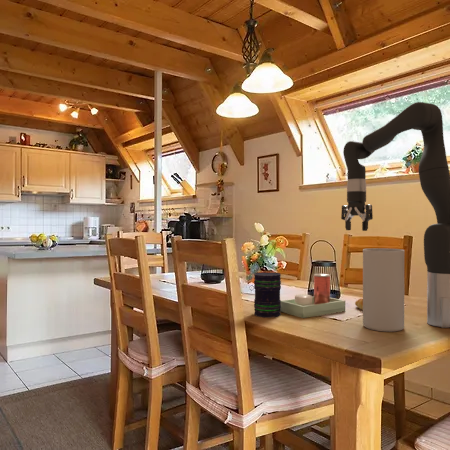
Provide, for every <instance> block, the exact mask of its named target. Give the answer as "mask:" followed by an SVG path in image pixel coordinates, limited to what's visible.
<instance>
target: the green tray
mask: <svg viewBox="0 0 450 450" xmlns="http://www.w3.org/2000/svg"><path fill="white" fill-rule="evenodd" d="M280 309H281V311H280V313H283V314H287V315H291V316H295V317H298V318H301V319H307V318H311V317H319V316H323V315H324V316H325V314H326V315H331V313H332V314H337V313H336V312H338V313H343V312H342V311H344V312H346V300H343V299H341V298H340V299H339V298H334V297H330V302H328V303H321V304H314V296H312V305H307V306H301V305H297V304H295V298H291V299H285V300H281V308H280Z"/></svg>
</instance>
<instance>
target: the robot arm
mask: <svg viewBox="0 0 450 450" xmlns="http://www.w3.org/2000/svg"><path fill="white" fill-rule="evenodd" d="M443 122H444V121H443V114H442V111H441V108H440V107H439V106H438V105H437V104H434V103H428V102H424V101H417V102H416V101H415V102H413V103H412V104H410V105H409V106H407V107H406V108H404V109H403V110H402V111H401V112H400V113H398V114H397V115H396V116H394V117H393V118H392V119H391V120H389V121H388V122H386V124H384V125H382V126H380V127H379V128H377V129H375V130H373V131H372V132H370V133H368V134H366V135H365V136H364V137H363V138H362V141H356V140H348V141H347V142H346V143H345V145H344V147H343V152H342V153H343V158H344V163H345V165H346V168H347V169H346V170H347V183H346V202H347V203H348V204H346V205H341V217H340V218H341V220H343V221H344V222H345V226H344V227H345V231H351V230H352V221H351V220H352V218H354V217H355V216H358V217H359V218H361V220H362V223H361V224H362V225H361V228H362V229H361V230H362V232H365V231H368V229H369V221H371V220H373V219H374V218H373V217H374V215H373V205H372V204H366V202H367V180H366V175H367V174H366V166H365V165H363V164H361V163H360V162H359V160H365V159H367V158H369V157H370V156H372V154H373V153H374V152H376V151H377V150H380V149H382V148H383V147H386V146H387V145H389V144H390V143H391V142H392V141H393V140H394V139H395V138H396V137H397V136H398V135H399V134H401V133H403V132H407V131H410V130H415V131H420V132H421V136H422V142H423V151H422V153H421V157H420V160H419V163H418V169H417V170H418V177H419V182H420V188H421V190H422V192H423V193H424V196H425V197H426V199H427V200H428V202H429V203H430V204H431V206H432V208H433V211H434V213H435V217H436V223H433V224H430V225H429V226H428V227H426V228H425V229H426V230H425V231H424V234H423V235H424V236H423V253H424V254H423V256H424V263H425V266H426V270H427V271H426V272H427V273H426V286H427V287H426V323H427V324H428V325H430V326H433V327H439V328H442V329H444V328H450V167H449V164H448V160H447V159H448V158H447V151H446V146H445V140H444V123H443Z"/></svg>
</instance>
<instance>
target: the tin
mask: <svg viewBox="0 0 450 450" xmlns="http://www.w3.org/2000/svg"><path fill="white" fill-rule="evenodd" d="M313 297H314V304H321V303H328V302H330V298H331V274H329V273H328V274H327V273H314V274H313Z"/></svg>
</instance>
